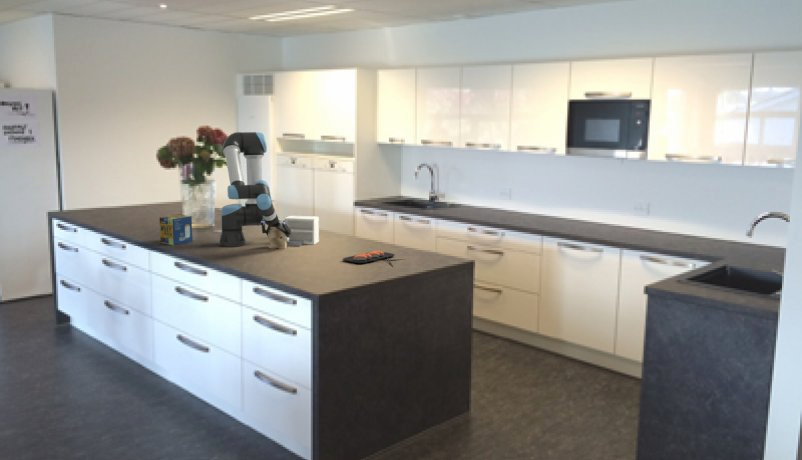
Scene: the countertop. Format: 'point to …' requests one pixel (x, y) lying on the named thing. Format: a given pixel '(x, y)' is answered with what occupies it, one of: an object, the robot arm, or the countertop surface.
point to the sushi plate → (370, 257)
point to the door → (277, 238)
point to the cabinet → (302, 230)
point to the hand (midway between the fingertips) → (280, 239)
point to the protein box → (176, 229)
